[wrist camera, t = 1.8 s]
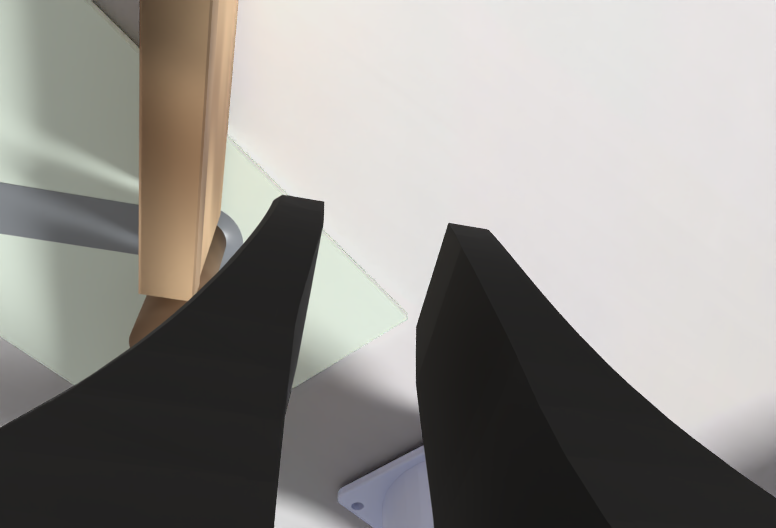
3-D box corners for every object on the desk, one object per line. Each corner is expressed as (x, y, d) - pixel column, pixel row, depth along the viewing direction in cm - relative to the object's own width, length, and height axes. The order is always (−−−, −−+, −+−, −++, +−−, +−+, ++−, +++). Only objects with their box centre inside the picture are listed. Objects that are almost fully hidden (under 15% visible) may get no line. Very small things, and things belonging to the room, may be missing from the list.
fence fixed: (230, 217, 21) (196, 326, 17) (208, 443, 27) (180, 564, 23) (175, 208, 21) (128, 316, 17) (166, 438, 27) (129, 559, 22)
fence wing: (222, 214, 20) (193, 301, 17) (176, 207, 20) (138, 294, 17) (248, -86, 15) (215, -47, 12) (188, -100, 15) (139, -63, 12)
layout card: (407, 313, 23) (407, 319, 23) (183, 450, 27) (181, 456, 27) (1, -89, 16) (-5, -87, 16) (-228, 176, 20) (-236, 181, 19)
